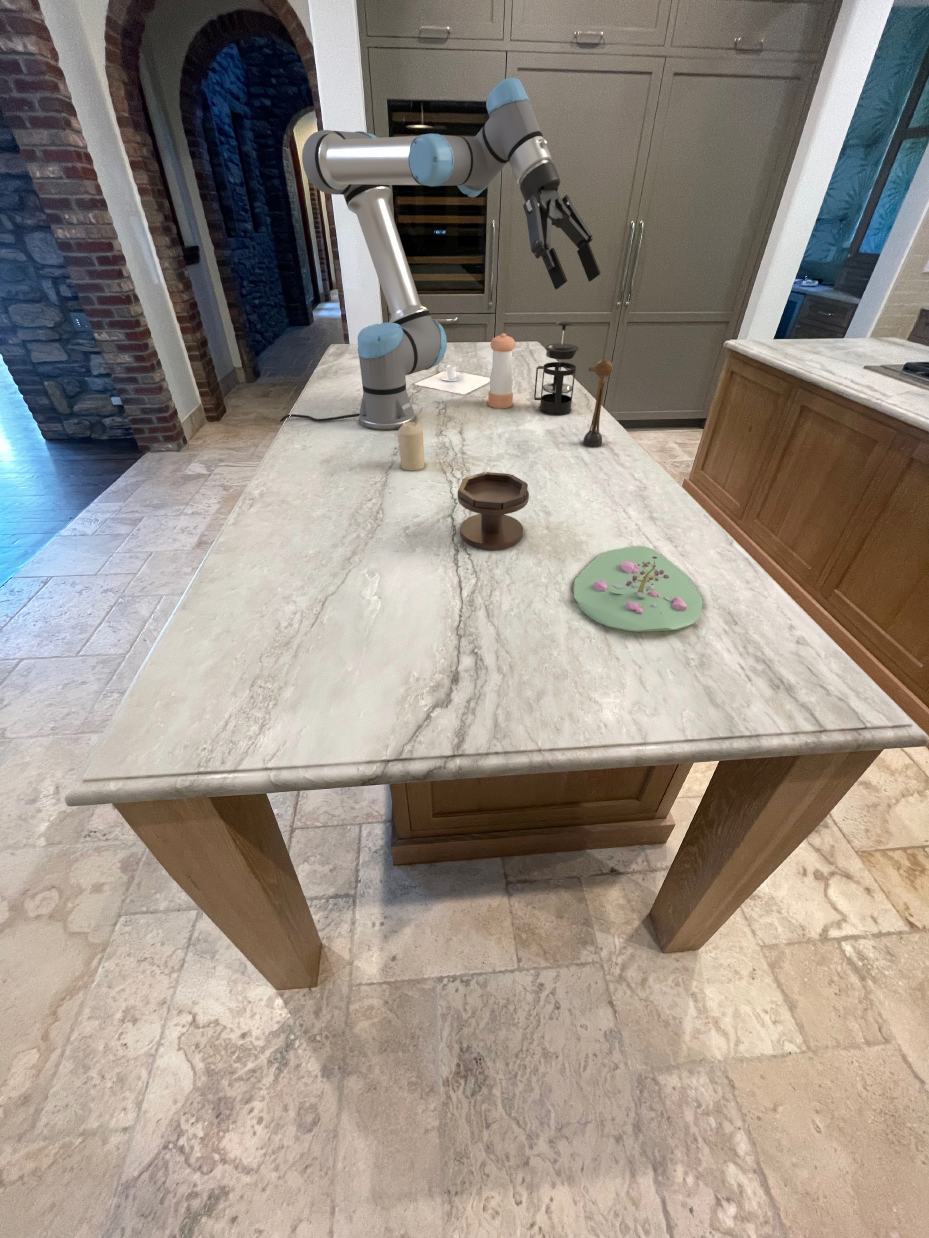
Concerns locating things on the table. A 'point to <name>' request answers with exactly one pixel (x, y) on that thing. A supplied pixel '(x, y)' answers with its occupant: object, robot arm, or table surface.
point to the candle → (411, 446)
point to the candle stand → (492, 510)
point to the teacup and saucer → (454, 381)
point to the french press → (557, 378)
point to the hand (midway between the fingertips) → (578, 281)
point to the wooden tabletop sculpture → (597, 404)
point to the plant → (637, 591)
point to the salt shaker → (501, 372)
